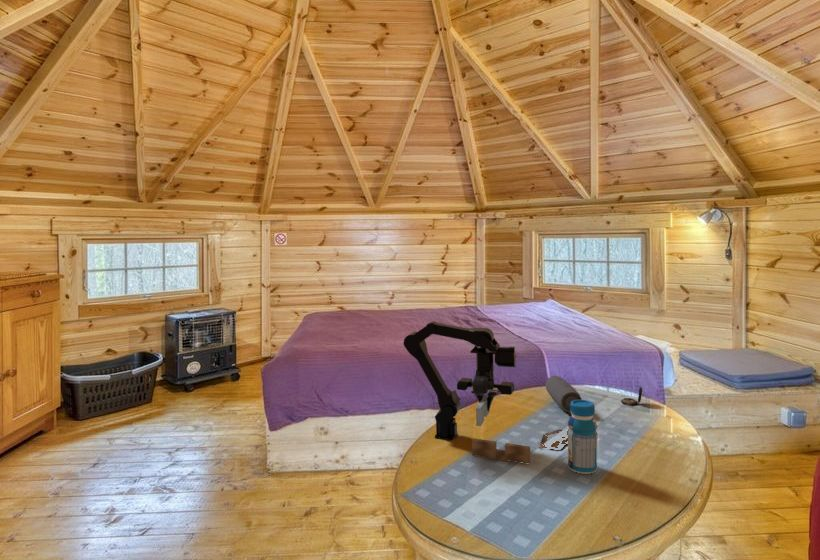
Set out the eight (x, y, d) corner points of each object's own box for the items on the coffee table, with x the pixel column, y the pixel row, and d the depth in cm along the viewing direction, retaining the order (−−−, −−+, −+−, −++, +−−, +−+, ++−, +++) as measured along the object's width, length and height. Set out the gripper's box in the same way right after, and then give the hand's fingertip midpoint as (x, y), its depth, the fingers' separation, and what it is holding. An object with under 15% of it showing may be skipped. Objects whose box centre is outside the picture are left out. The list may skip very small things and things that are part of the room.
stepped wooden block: (472, 455, 153) (472, 440, 153) (473, 453, 155) (473, 438, 154) (529, 464, 146) (529, 448, 146) (530, 462, 147) (530, 446, 147)
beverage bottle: (583, 477, 137) (583, 409, 135) (561, 466, 144) (561, 401, 143) (603, 470, 141) (604, 404, 139) (581, 459, 148) (581, 396, 147)
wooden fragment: (555, 455, 152) (555, 452, 152) (526, 444, 161) (526, 441, 161) (595, 433, 169) (595, 430, 169) (567, 424, 177) (567, 421, 177)
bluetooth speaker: (584, 415, 185) (584, 390, 184) (559, 416, 185) (559, 390, 184) (565, 396, 208) (565, 374, 207) (544, 397, 208) (544, 374, 207)
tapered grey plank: (476, 425, 156) (475, 408, 155) (485, 411, 167) (485, 394, 166) (480, 426, 155) (480, 408, 155) (489, 411, 166) (489, 395, 166)
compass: (621, 400, 202) (621, 383, 201) (642, 402, 198) (642, 385, 198) (620, 406, 195) (620, 388, 194) (641, 408, 191) (642, 390, 190)
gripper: (451, 369, 159) (452, 415, 160) (507, 374, 152) (507, 422, 153) (461, 361, 169) (462, 404, 171) (514, 365, 162) (514, 410, 163)
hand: (485, 410), depth 164 cm, fingers closed on tapered grey plank, 1 cm apart
